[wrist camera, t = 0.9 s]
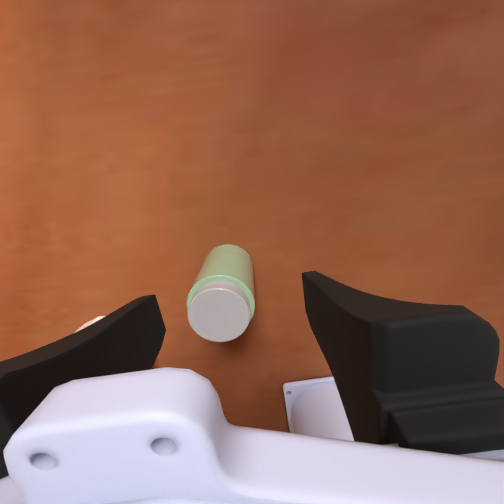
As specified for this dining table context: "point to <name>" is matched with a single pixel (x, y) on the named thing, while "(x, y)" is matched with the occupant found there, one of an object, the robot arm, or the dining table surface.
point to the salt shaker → (222, 295)
